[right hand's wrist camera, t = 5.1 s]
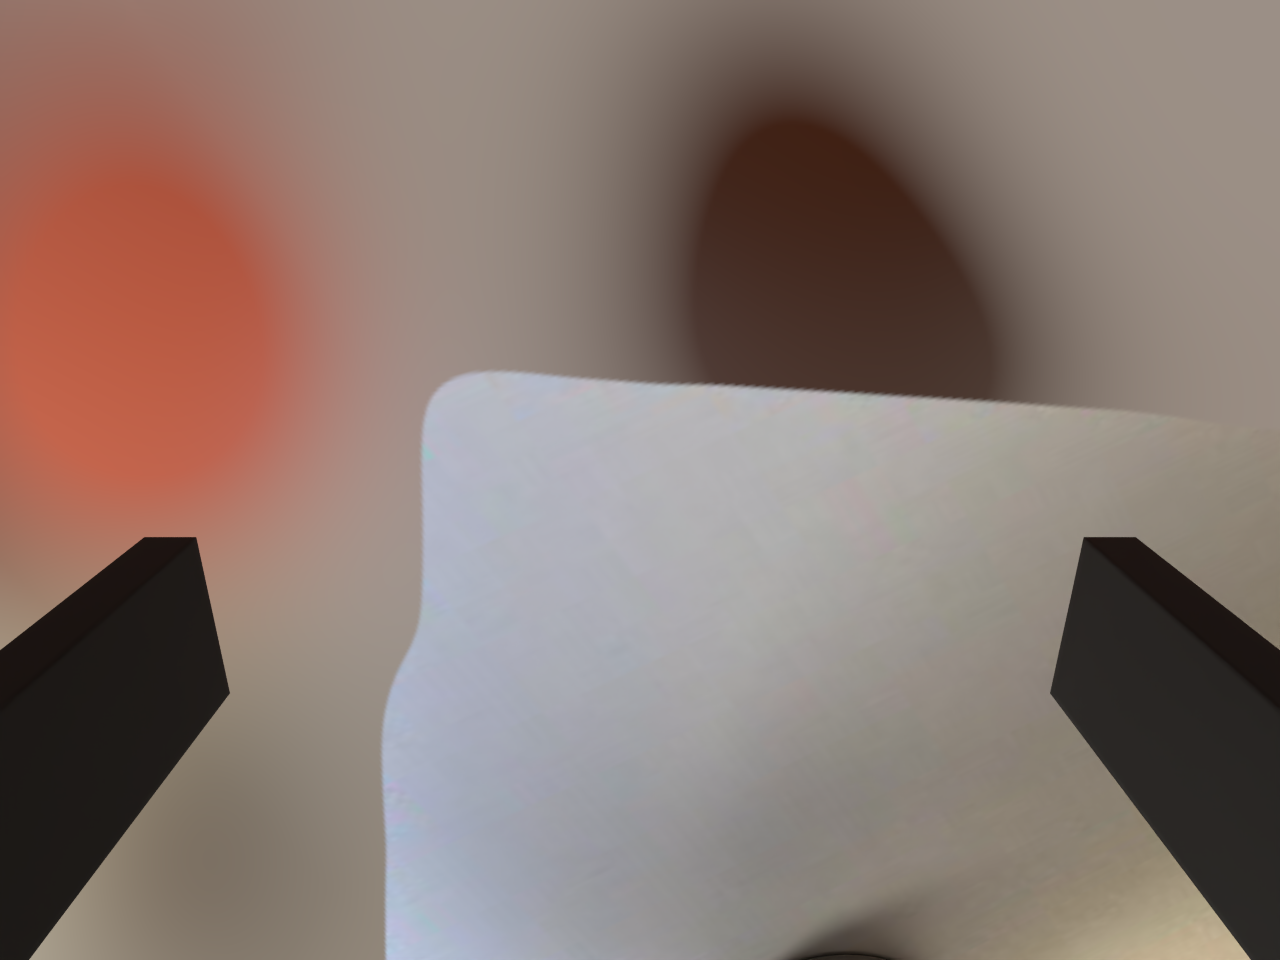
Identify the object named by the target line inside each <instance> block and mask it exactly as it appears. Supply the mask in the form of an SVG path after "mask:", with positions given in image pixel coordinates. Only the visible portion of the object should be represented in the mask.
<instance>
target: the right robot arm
mask: <svg viewBox="0 0 1280 960" xmlns="http://www.w3.org/2000/svg"><path fill="white" fill-rule="evenodd" d="M229 694H230V692H229V687H228V683H227V678H226V673H225V669H224V664H223V659H222V655H221V650H220V645H219V641H218V636H217V631H216V627H215V622H214V618H213V613H212V608H211V604H210V599H209V595H208V590H207V585H206V581H205V576H204V571H203V567H202V562H201V557H200V553H199V548H198V543H197V539H196V537H144V538H143V539H142V540H140V541H139V542H138V543H136V544H135V545H134V546H133V547H131V548H130V549H129V550H128V551H126V552H125V553H124V554H122V555H121V556H120V557H119V558H117V559H116V560H115V561H114V562H112V563H111V564H110V565H108V566H107V567H106V568H105V569H103V570H102V571H101V572H99V573H98V574H97V575H96V576H94V577H93V578H92V579H91V580H89V581H88V582H87V583H85V584H84V585H83V586H82V587H80V588H79V589H78V590H77V591H75V592H74V593H73V594H71V595H70V596H69V597H68V598H66V599H65V600H64V601H63V602H61V603H60V604H59V605H57V606H56V607H55V608H54V609H52V610H51V611H50V612H48V613H47V614H46V615H45V616H43V617H42V618H41V619H40V620H38V621H37V622H36V623H34V624H33V625H32V626H31V627H29V628H28V629H27V630H25V631H24V632H23V633H22V634H20V635H19V636H18V637H17V638H15V639H14V640H13V641H11V642H10V643H9V644H8V645H6V646H5V647H4V648H2V649H1V650H0V960H29V959H30V958H31V956H32V955H33V954H34V952H35V951H36V950H37V948H38V947H39V946H40V944H41V943H42V942H43V940H44V939H45V938H46V936H47V935H48V934H49V932H50V931H51V930H52V928H53V927H54V926H55V924H56V923H57V922H58V920H59V919H60V918H61V916H62V915H63V914H64V913H65V911H66V910H67V909H68V907H69V906H70V905H71V903H72V902H73V901H74V899H75V898H76V897H77V895H78V894H79V893H80V891H81V890H82V889H83V887H84V886H85V885H86V883H87V882H88V881H89V879H90V878H91V877H92V875H93V874H94V873H95V871H96V870H97V869H98V867H99V866H100V865H101V863H102V862H103V861H104V859H105V858H106V857H107V856H108V854H109V853H110V852H111V850H112V849H113V848H114V846H115V845H116V844H117V842H118V841H119V840H120V838H121V837H122V836H123V834H124V833H125V832H126V830H127V829H128V828H129V826H130V825H131V824H132V822H133V821H134V820H135V818H136V817H137V816H138V814H139V813H140V812H141V810H142V809H143V808H144V806H145V805H146V804H147V802H148V801H149V800H150V798H151V797H152V796H153V794H154V793H155V792H156V790H157V789H158V788H159V786H160V785H161V784H162V783H163V781H164V780H165V779H166V777H167V776H168V774H169V773H170V772H171V771H172V769H173V768H174V767H175V765H176V764H177V763H178V761H179V760H180V759H181V757H182V756H183V755H184V753H185V752H186V751H187V749H188V748H189V747H190V745H191V744H192V743H193V741H194V740H195V739H196V737H197V736H198V735H199V733H200V732H201V731H202V729H203V728H204V727H205V725H206V724H207V723H208V721H209V720H210V719H211V717H212V716H213V715H214V714H215V712H216V711H217V710H218V708H219V707H220V706H221V704H222V703H223V701H224V700H225V699H226V698H227V696H228V695H229ZM1050 694H1051V695H1052V696H1053V698H1054V699H1055V700H1056V702H1057V703H1058V704H1059V706H1060V707H1061V708H1062V710H1063V711H1064V712H1065V714H1066V715H1067V716H1068V717H1069V719H1070V720H1071V721H1072V723H1073V724H1074V725H1075V727H1076V728H1077V729H1078V731H1079V732H1080V733H1081V735H1082V736H1083V737H1084V739H1085V740H1086V741H1087V743H1088V744H1089V745H1090V747H1091V748H1092V749H1093V751H1094V752H1095V753H1096V755H1097V756H1098V757H1099V759H1100V760H1101V761H1102V763H1103V764H1104V765H1105V767H1106V768H1107V769H1108V771H1109V772H1110V773H1111V775H1112V776H1113V777H1114V779H1115V780H1116V781H1117V783H1118V784H1119V785H1120V787H1121V788H1122V789H1123V790H1124V792H1125V793H1126V794H1127V796H1128V797H1129V798H1130V800H1131V801H1132V802H1133V804H1134V805H1135V806H1136V808H1137V809H1138V810H1139V812H1140V813H1141V814H1142V816H1143V817H1144V818H1145V820H1146V821H1147V822H1148V824H1149V825H1150V826H1151V828H1152V829H1153V830H1154V832H1155V833H1156V834H1157V836H1158V837H1159V838H1160V840H1161V841H1162V842H1163V844H1164V845H1165V846H1166V848H1167V849H1168V850H1169V852H1170V853H1171V854H1172V856H1173V857H1174V858H1175V859H1176V861H1177V862H1178V863H1179V865H1180V866H1181V867H1182V869H1183V870H1184V871H1185V873H1186V874H1187V875H1188V877H1189V878H1190V879H1191V881H1192V882H1193V883H1194V885H1195V886H1196V887H1197V889H1198V890H1199V891H1200V893H1201V894H1202V895H1203V897H1204V898H1205V899H1206V901H1207V902H1208V903H1209V905H1210V906H1211V907H1212V909H1213V910H1214V911H1215V913H1216V914H1217V915H1218V917H1219V918H1220V919H1221V921H1222V922H1223V923H1224V925H1225V926H1226V927H1227V928H1228V930H1229V931H1230V932H1231V934H1232V935H1233V936H1234V938H1235V939H1236V940H1237V942H1238V943H1239V944H1240V946H1241V947H1242V948H1243V950H1244V951H1245V952H1246V954H1247V955H1248V956H1249V958H1250V959H1251V960H1280V650H1279V649H1278V648H1276V647H1275V646H1274V645H1272V644H1271V643H1270V642H1269V641H1267V640H1266V639H1265V638H1263V637H1262V636H1261V635H1260V634H1258V633H1257V632H1256V631H1255V630H1253V629H1252V628H1251V627H1249V626H1248V625H1247V624H1246V623H1244V622H1243V621H1242V620H1241V619H1239V618H1238V617H1237V616H1235V615H1234V614H1233V613H1232V612H1230V611H1229V610H1228V609H1226V608H1225V607H1224V606H1223V605H1221V604H1220V603H1219V602H1218V601H1216V600H1215V599H1214V598H1212V597H1211V596H1210V595H1209V594H1207V593H1206V592H1205V591H1204V590H1202V589H1201V588H1200V587H1198V586H1197V585H1196V584H1195V583H1193V582H1192V581H1191V580H1189V579H1188V578H1187V577H1186V576H1184V575H1183V574H1182V573H1181V572H1179V571H1178V570H1177V569H1175V568H1174V567H1173V566H1172V565H1170V564H1169V563H1168V562H1167V561H1165V560H1164V559H1163V558H1161V557H1160V556H1159V555H1158V554H1156V553H1155V552H1154V551H1152V550H1151V549H1150V548H1149V547H1147V546H1146V545H1145V544H1144V543H1142V542H1141V541H1140V540H1138V539H1137V538H1136V537H1084V539H1083V543H1082V548H1081V553H1080V557H1079V562H1078V567H1077V571H1076V576H1075V581H1074V585H1073V590H1072V594H1071V599H1070V604H1069V608H1068V613H1067V618H1066V622H1065V627H1064V631H1063V636H1062V641H1061V645H1060V650H1059V655H1058V659H1057V664H1056V669H1055V673H1054V678H1053V682H1052V687H1051V692H1050ZM808 960H886V959H882V958H877V957H871V956H863V955H832V956H823V957H817V958H812V959H808Z"/></svg>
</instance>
